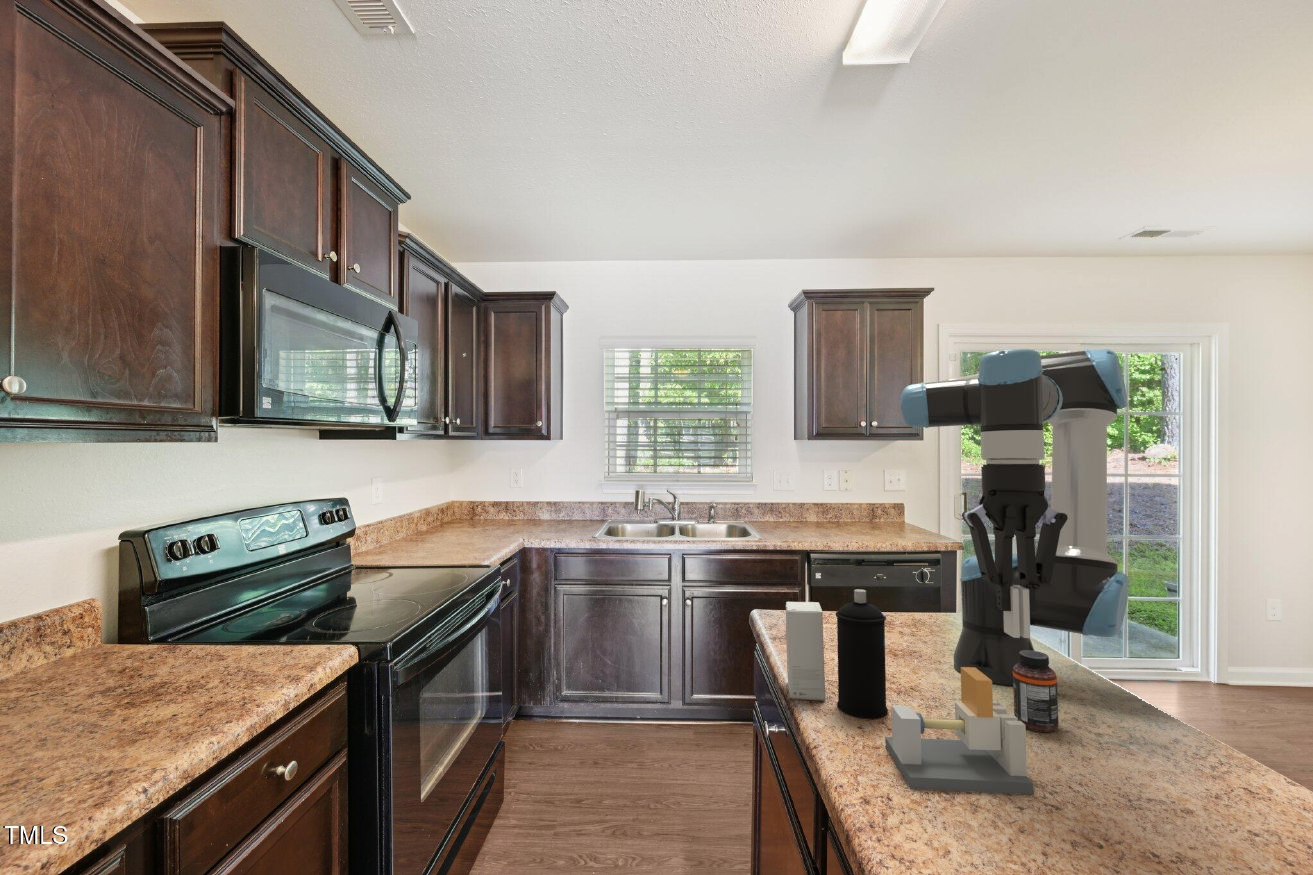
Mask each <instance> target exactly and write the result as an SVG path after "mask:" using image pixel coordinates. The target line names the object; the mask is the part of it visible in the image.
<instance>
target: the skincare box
mask: <svg viewBox="0 0 1313 875" xmlns="http://www.w3.org/2000/svg"><path fill="white" fill-rule="evenodd" d="M823 619H824V618H823V609H822V607H821V605H820V602H816V601H815V602H814V601H786V602H785V640H786V643H785V644H786V665H787V670H786V671H787V683H788V684H787V686H788V694H789V695H788V696H789V698H790V699H794V700H804V701H805V700H808V701H809V700H811V701H825V700H826V680H825V653H824V652H825V651H824V649H825V648H824V647H825V646H824V623H823V622H824V620H823Z"/></svg>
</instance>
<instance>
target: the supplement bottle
mask: <svg viewBox="0 0 1313 875" xmlns="http://www.w3.org/2000/svg"><path fill="white" fill-rule="evenodd" d="M1019 660H1020V661H1019V662H1018V663H1017V664H1015V665H1014V667H1013V685H1012V686H1013V707H1014V708H1013V712H1014V713H1013V715H1014V716H1015V717H1017V719H1018V721H1021V722H1022V723H1024V724H1025V725H1026V730H1029V731H1034V732H1039V733H1053V732H1055V731H1057V730H1058V729H1059V698H1058V677H1057V673H1056V671H1055V670H1054V669H1052V668H1051V667H1050V666H1049V665H1050V659H1049V655H1048V654H1046V653H1045V652H1042V651H1036V650H1035V651H1032V650H1022V651H1020V652H1019Z"/></svg>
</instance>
